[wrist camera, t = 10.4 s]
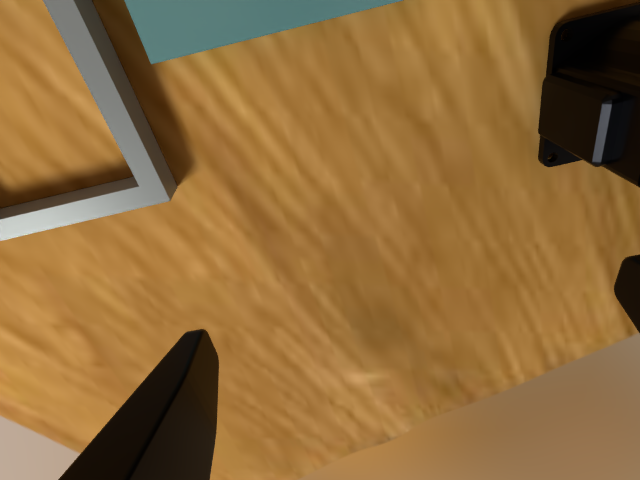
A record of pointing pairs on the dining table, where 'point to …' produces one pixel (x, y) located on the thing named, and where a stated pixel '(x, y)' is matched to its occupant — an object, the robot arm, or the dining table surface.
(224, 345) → the dining table surface
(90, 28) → the holder
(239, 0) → the tile
